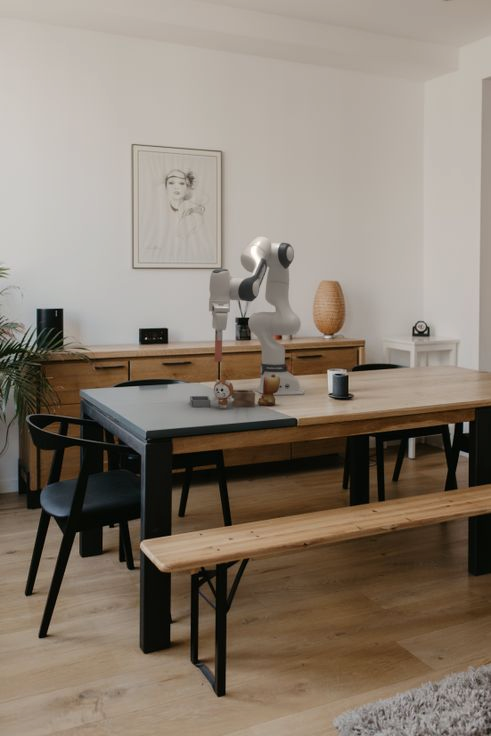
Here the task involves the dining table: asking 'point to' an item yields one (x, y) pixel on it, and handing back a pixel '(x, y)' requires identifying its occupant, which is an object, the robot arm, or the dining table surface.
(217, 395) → the figurine
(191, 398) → the tray
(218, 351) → the pin
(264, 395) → the figurine
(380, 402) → the dining table surface
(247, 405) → the hitch block
